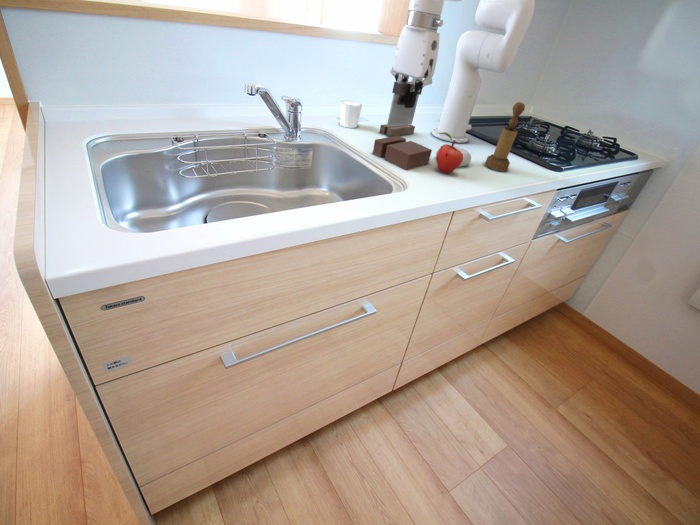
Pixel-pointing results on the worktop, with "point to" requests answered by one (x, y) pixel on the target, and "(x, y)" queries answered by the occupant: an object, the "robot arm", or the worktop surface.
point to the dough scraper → (401, 105)
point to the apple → (448, 157)
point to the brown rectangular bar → (385, 144)
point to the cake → (407, 154)
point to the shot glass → (350, 113)
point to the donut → (465, 156)
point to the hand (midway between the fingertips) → (404, 105)
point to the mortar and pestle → (505, 142)
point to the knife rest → (397, 130)
